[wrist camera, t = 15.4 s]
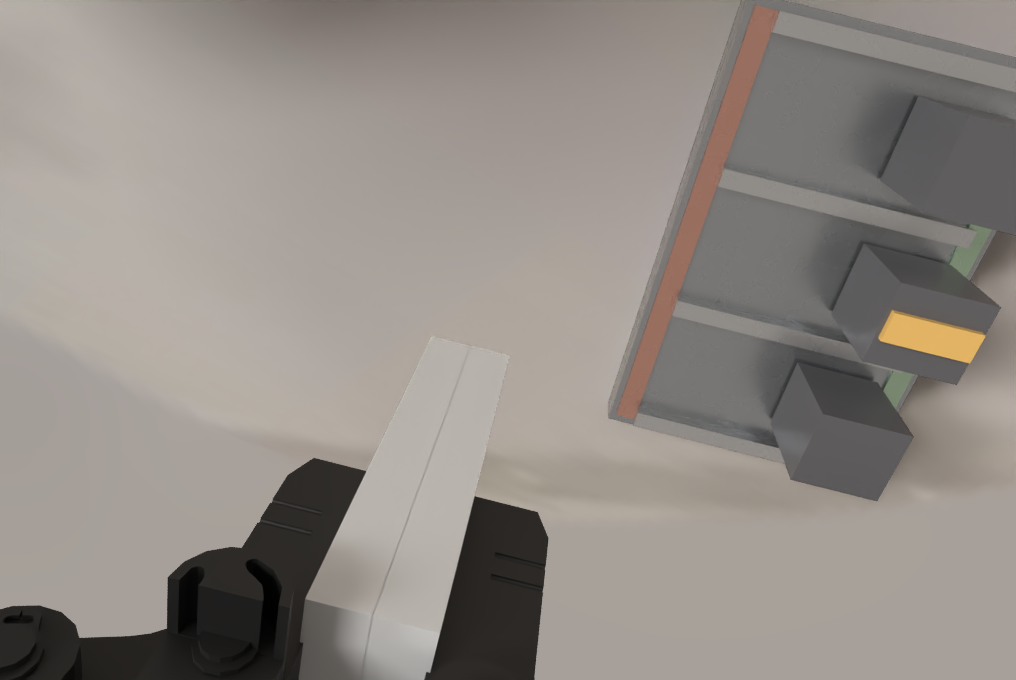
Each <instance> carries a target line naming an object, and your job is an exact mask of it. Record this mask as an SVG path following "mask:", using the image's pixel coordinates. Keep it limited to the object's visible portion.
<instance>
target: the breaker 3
mask: <svg viewBox="0 0 1016 680" xmlns="http://www.w3.org/2000/svg"><path fill="white" fill-rule="evenodd" d="M1000 309H1001V307H1000V306H999V305H997V304H996V303H995V302H994V301H993V300H992V299H990V298H989V297H988V296H987V295H986V294H984V293H983V292H982V291H981V290H980V289H979V288H977V287H976V286H975V285H974V284H973V283H972V282H970V281H969V280H968V279H967V278H966V277H964V276H963V275H962V274H961V273H960V272H959V271H957V270H956V269H955V268H954V267H953V266H952V265H949V264H945V263H941V262H937V261H933V260H929V259H925V258H921V257H917V256H913V255H909V254H905V253H901V252H897V251H893V250H889V249H885V248H881V247H877V246H873V245H869V244H865V243H864V244H863V246H862V248H861V251H860V253H859V255H858V257H857V259H856V261H855V264H854V266H853V268H852V270H851V272H850V274H849V277H848V279H847V281H846V283H845V285H844V287H843V290H842V292H841V294H840V296H839V298H838V300H837V303H836V305H835V307H834V309H833V311H832V313H831V315H832V316H833V318H834V319H835V321H836V322H837V324H838V325H839V327H840V328H841V330H842V331H843V333H844V334H845V336H846V338H847V339H848V341H849V342H850V344H851V345H852V347H853V348H854V350H855V351H856V353H857V354H858V356H859V357H860V359H861V360H862V361H863V362H867V363H871V364H875V365H879V366H883V367H887V368H891V369H895V370H899V371H903V372H907V373H911V374H915V375H919V376H923V377H927V378H931V379H935V380H939V381H943V382H947V383H951V384H955V385H957V383H958V382H959V380H960V378H961V376H962V375H963V373H964V371H965V369H966V368H967V366H968V364H969V363H971V361H972V359H973V358H974V356H975V354H976V352H977V351H978V349H979V347H980V345H981V344H982V342H983V340H984V338H985V337H986V336H985V335H986V333H987V331H988V329H989V328H990V326H991V324H992V323H993V321H994V319H995V317H996V316H997V314H998V312H999V310H1000Z"/></svg>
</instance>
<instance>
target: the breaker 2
mask: <svg viewBox="0 0 1016 680" xmlns="http://www.w3.org/2000/svg"><path fill="white" fill-rule="evenodd" d="M880 181H881V182H883V183H884V184H885V185H887V186H888V187H889V188H891V189H892V190H893V191H895V192H896V193H897V194H899V195H900V196H901V197H903V198H904V199H905V200H906V201H908V202H909V203H910V204H912V205H913V206H914V207H916V208H917V209H918V210H920V211H921V212H923V213H927V214H931V215H935V216H939V217H943V218H947V219H951V220H956V221H960V222H964V223H968V224H972V225H976V226H980V227H984V228H988V229H992V230H996V231H1000V232H1004V233H1008V234H1012V235H1016V120H1014V119H1010V118H1006V117H1002V116H998V115H994V114H990V113H985V112H981V111H977V110H973V109H969V108H965V107H961V106H957V105H953V104H949V103H945V102H941V101H937V100H933V99H929V98H925V97H921V96H918V98H917V100H916V103H915V105H914V107H913V109H912V111H911V114H910V116H909V118H908V120H907V122H906V125H905V127H904V129H903V131H902V133H901V136H900V138H899V140H898V142H897V144H896V147H895V149H894V151H893V153H892V156H891V158H890V160H889V162H888V164H887V167H886V169H885V171H884V173H883V175H882V178H881V180H880Z"/></svg>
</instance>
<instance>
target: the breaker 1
mask: <svg viewBox="0 0 1016 680" xmlns="http://www.w3.org/2000/svg"><path fill="white" fill-rule="evenodd" d="M770 424H771V426H772V429H773V432H774V435H775V437H776V440H777V443H778V446H779V448H780V451H781V454H782V457H783V459H784V462H785V465H786V468H787V470H788V473H789V476H790V479H791V480H794V481H798V482H802V483H806V484H810V485H814V486H818V487H822V488H826V489H830V490H834V491H838V492H842V493H846V494H850V495H854V496H858V497H862V498H866V499H870V500H874V501H878V499H879V497H880V495H881V494H882V492H883V490H884V488H885V487H886V485H887V483H888V481H889V480H890V478H891V476H892V474H893V472H894V471H895V469H896V467H897V465H898V464H899V462H900V460H901V458H902V457H903V455H904V453H905V451H906V449H907V448H908V446H909V444H910V442H911V441H912V439H913V435H912V434H911V432H910V431H909V429H908V428H907V426H906V424H905V423H904V421H903V420H902V418H901V417H900V415H899V414H898V412H897V411H896V409H895V408H894V406H893V405H892V403H891V402H890V400H889V399H888V397H887V396H886V394H885V393H884V391H883V390H882V388H881V387H880V385H879V384H878V382H874V381H870V380H866V379H862V378H858V377H854V376H850V375H846V374H842V373H838V372H834V371H830V370H826V369H822V368H818V367H814V366H810V365H806V364H802V363H797V365H796V367H795V369H794V371H793V374H792V376H791V378H790V380H789V382H788V385H787V387H786V389H785V391H784V393H783V396H782V398H781V400H780V402H779V405H778V407H777V409H776V411H775V413H774V416H773V418H772V420H771V422H770Z"/></svg>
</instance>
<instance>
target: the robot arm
mask: <svg viewBox="0 0 1016 680" xmlns="http://www.w3.org/2000/svg"><path fill="white" fill-rule="evenodd" d="M509 357H510V355H506V354H502V353H498V352H494V351H490V350H486V349H482V348H478V347H474V346H470V345H466V344H462V343H458V342H454V341H450V340H446V339H442V338H438V337H434V336H431V338H430V340H429V342H428V344H427V347H426V349H425V351H424V353H423V355H422V357H421V359H420V361H419V363H418V365H417V367H416V369H415V371H414V374H413V376H412V378H411V380H410V382H409V384H408V386H407V388H406V390H405V392H404V394H403V396H402V399H401V401H400V403H399V405H398V407H397V409H396V411H395V413H394V415H393V417H392V419H391V421H390V423H389V426H388V428H387V430H386V432H385V434H384V436H383V438H382V440H381V442H380V444H379V446H378V448H377V451H376V453H375V455H374V457H373V459H372V461H371V463H370V465H369V467H368V469H367V471H363V470H359V469H355V468H351V467H347V466H343V465H340V464H336V463H332V462H328V461H324V460H320V459H316V458H313V459H312V460H310V461H309V462H307V463H306V464H304V465H302V466H301V467H299V468H298V469H296V470H295V471H294V472H292V473H290V474H289V475H288V476H287V477H286V479H285V481H284V482H283V484H282V485H281V487H280V488H279V490H278V492H277V493H276V495H275V496H274V498H273V501H272V503H270V504H269V506H268V507H267V509H266V511H265V512H264V514H263V515H262V517H261V520H260V522H259V523H257V525H256V526H255V528H254V530H253V531H252V533H251V534H250V536H249V538H248V539H247V541H246V542H245V544H244V545H243V547H242V548H235V547H229V548H223V549H217V550H211V551H206V552H204V553H202V554H200V555H198V556H195V557H193V558H191V559H189V560H187V561H185V562H184V563H182V564H181V565H180V566H179V567H178V568H177V569H176V570H175V571H174V572H173V573H172V574H171V575H170V576H169V577H168V599H167V629H164V630H161V631H158V632H155V633H152V634H144V635H137V636H125V637H95V638H79V636H78V633H77V629H76V625H75V624H74V623H73V622H72V621H71V620H69V619H68V618H67V617H66V616H65V615H64V614H63V613H62V612H59V611H56V610H52V609H49V608H45V607H42V606H11V607H7V608H4V609H0V680H534V674H535V664H536V654H537V645H538V635H539V625H540V615H541V605H542V596H543V593H542V591H543V586H544V576H545V565H546V557H547V547H548V536H547V534H546V531H545V529H544V527H543V524H542V522H541V519H540V517H539V515H538V512H535V511H531V510H527V509H523V508H519V507H515V506H511V505H507V504H503V503H499V502H495V501H491V500H487V499H483V498H479V497H475V493H476V489H477V485H478V481H479V477H480V473H481V469H482V465H483V461H484V457H485V453H486V449H487V445H488V441H489V437H490V433H491V429H492V425H493V421H494V417H495V413H496V409H497V405H498V401H499V397H500V393H501V389H502V385H503V381H504V377H505V373H506V369H507V365H508V361H509Z"/></svg>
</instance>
